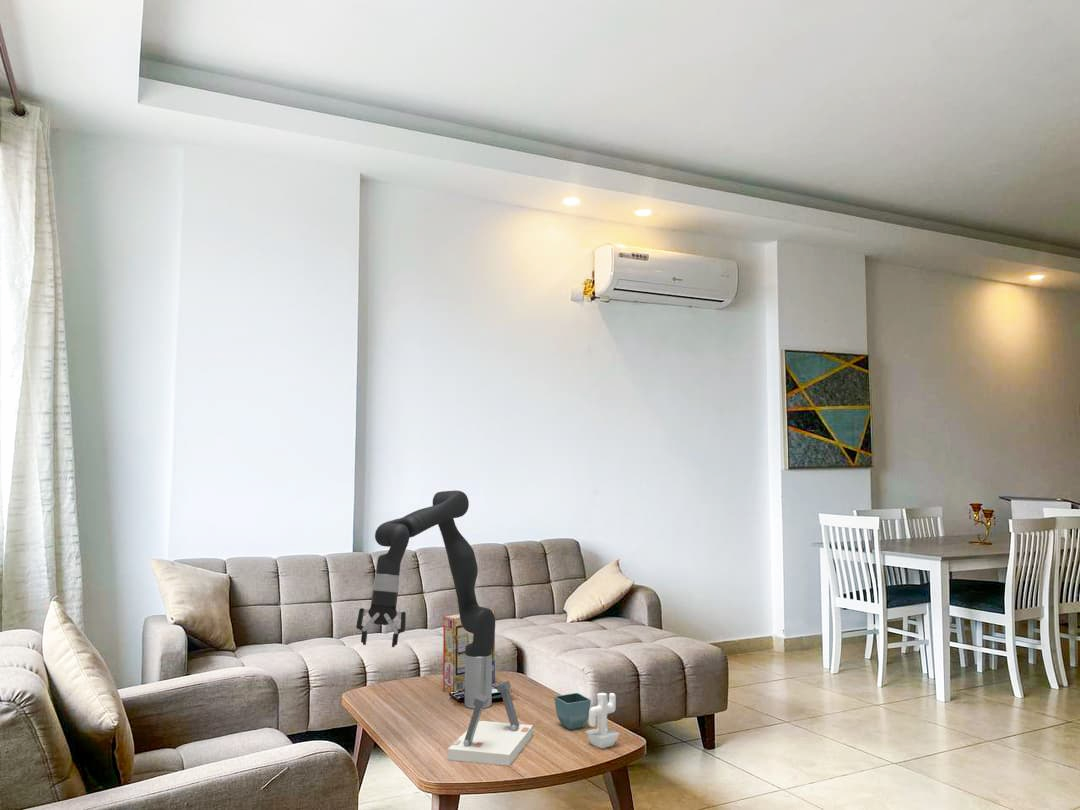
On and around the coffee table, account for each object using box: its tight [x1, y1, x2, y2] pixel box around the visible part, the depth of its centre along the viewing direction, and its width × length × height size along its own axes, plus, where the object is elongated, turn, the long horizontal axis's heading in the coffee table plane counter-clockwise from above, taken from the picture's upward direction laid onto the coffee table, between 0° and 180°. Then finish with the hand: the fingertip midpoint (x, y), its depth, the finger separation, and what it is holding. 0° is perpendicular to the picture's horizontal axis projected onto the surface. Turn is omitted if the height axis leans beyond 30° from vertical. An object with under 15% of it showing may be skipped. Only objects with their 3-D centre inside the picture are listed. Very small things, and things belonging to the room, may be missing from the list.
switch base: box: [447, 720, 534, 767], centre depth 243 cm, size 26×18×3 cm
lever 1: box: [463, 694, 489, 746], centre depth 236 cm, size 4×3×14 cm, turn 166°
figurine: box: [584, 692, 620, 749], centre depth 245 cm, size 7×9×15 cm
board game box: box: [442, 610, 496, 694], centre depth 306 cm, size 20×6×27 cm, turn 135°
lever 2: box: [496, 679, 520, 731], centre depth 250 cm, size 4×3×14 cm, turn 166°
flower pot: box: [553, 692, 592, 730], centre depth 261 cm, size 9×9×9 cm
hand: (378, 645), depth 245 cm, fingers open, 8 cm apart
